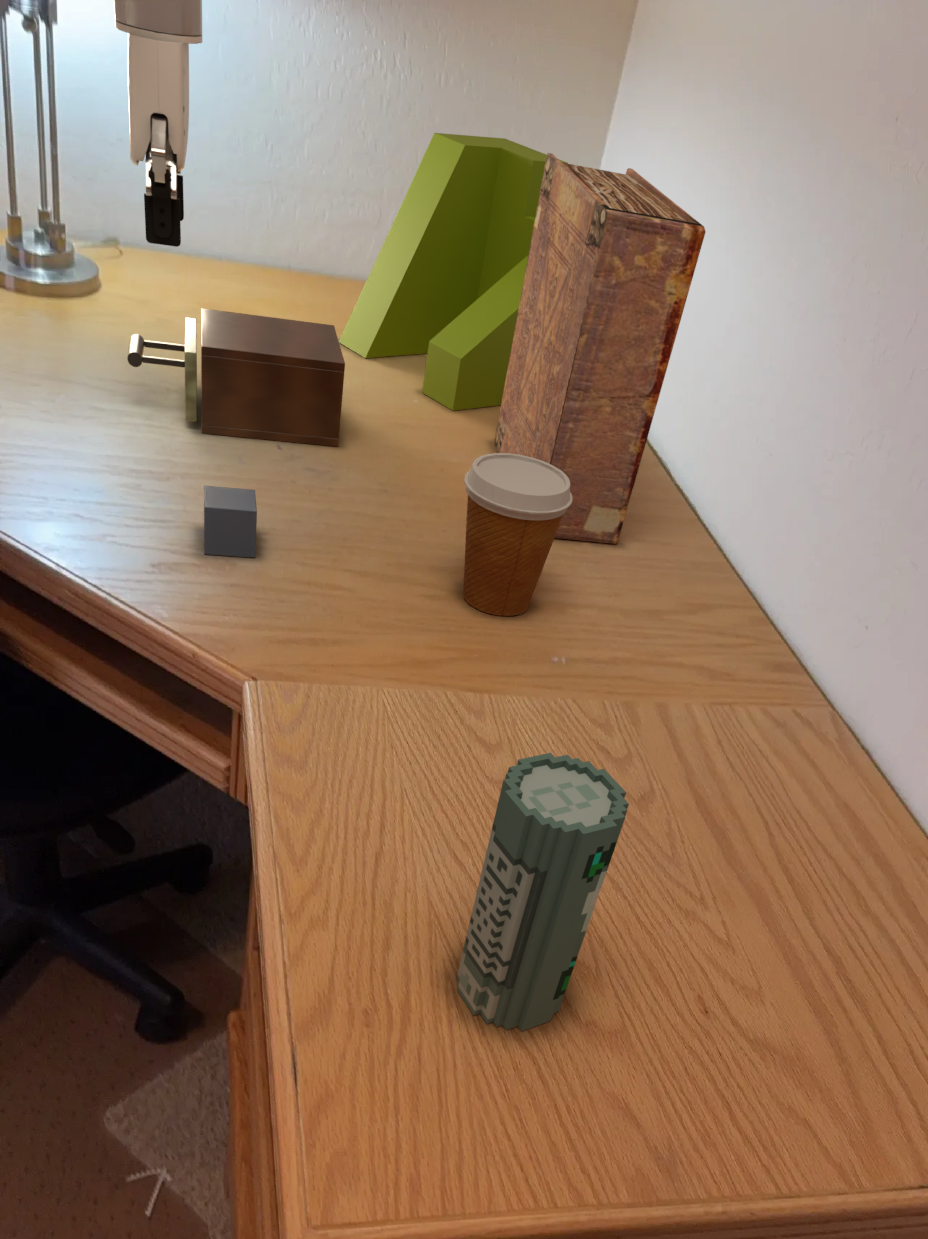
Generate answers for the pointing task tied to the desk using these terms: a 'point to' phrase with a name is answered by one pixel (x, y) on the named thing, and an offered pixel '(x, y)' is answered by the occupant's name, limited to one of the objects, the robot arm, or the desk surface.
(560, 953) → the can
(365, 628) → the desk surface
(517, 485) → the disposable coffee cup
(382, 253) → the book holder
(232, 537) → the block
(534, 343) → the book
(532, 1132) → the desk surface
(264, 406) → the cabinet
